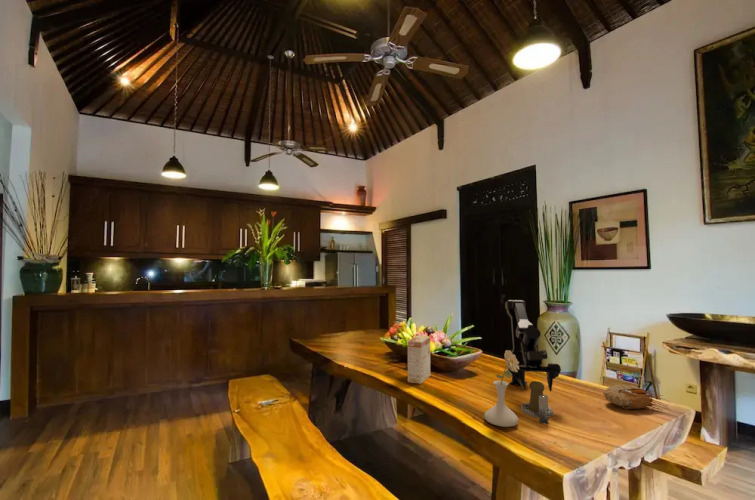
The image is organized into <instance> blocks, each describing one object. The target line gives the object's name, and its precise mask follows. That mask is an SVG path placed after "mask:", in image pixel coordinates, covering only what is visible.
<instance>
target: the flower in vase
mask: <svg viewBox="0 0 755 500" xmlns="http://www.w3.org/2000/svg"><path fill="white" fill-rule="evenodd" d="M503 355H504V356H503V357H504V361H505V368H504V370H503V374H502V375H501V374H498V373H497V374H496V378H498V379H501V380H495V381H493V385H494V386H495V389H496V392H497V394H496V395H497V403H496V404H495V405H493V406H492V407H490V408H489V409H488V410H486V411H485V412H484V414H483V415H484V416H483V417H484V419H485V421H486V422H488V423H489V424H492V425H493V426H498V427H503V428H506V427H507V428H508V427H510V428H511V427H514V426H517V424H518V423H519V422H520V421H519V417H518V416H517V414H516V413H515V412H513V411H512V410H511V409H510V408H509V407H508V406H507V405H506V403H505V393H506V389H507V387H508V386H509V382H507V381H504V378H505V376H506V378H508V379H509V378H510V379H511V378H512V373H511V372H510V371H508V370H507V368H508V367H509V368H510V370H511V371H513V372H514V371H515V372H518V371H517V369H518V370H519V365H518V364H519V362H518V361H517V359H516V358H515V357H516V356H515V355H513V354H512V350H510V349H509V350H508V349H506V350H505V351H504V354H503Z"/></svg>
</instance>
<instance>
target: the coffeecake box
mask: <svg viewBox="0 0 755 500" xmlns="http://www.w3.org/2000/svg"><path fill="white" fill-rule="evenodd" d="M430 376H431V336H428V335H422V334H421V335H416V336H414V337H412V338H410V339H408V340H407V382H408V383H410V384H411V383H413V384H418V385H419V384H420V385H421V384H423V383H424V381H426V380H427V379H428V378H429V377H430Z"/></svg>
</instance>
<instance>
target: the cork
mask: <svg viewBox="0 0 755 500" xmlns="http://www.w3.org/2000/svg"><path fill="white" fill-rule="evenodd" d="M528 386H529V389H530V396H529V402H530V403H529V408H528V409H529V410H532V411H534V412H539V395H544V391H545V385H544V383H543V382H540V381H535V380H533V381H530V383H529V384H528Z"/></svg>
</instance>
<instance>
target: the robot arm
mask: <svg viewBox="0 0 755 500" xmlns="http://www.w3.org/2000/svg"><path fill="white" fill-rule="evenodd" d="M504 307H505V310H506V314H507V316H508V317H509V318H510V322H511V323H510V325H511V336H512V337H511V338H512V340H511V341H512V349H511V352H512V354H513V355H515V356H516V357H515V358H516V359H517V361H518V362H519V364H518V365H519V370H518V369H517V371H518V372H515V371H514V372H513V371H511V370H510V368H509V367H508V366H507V367H506V370H508V371H510V372H511V373H512V376H511V380H510V381H509V384H510V385H515V386H518V387H519V386H520V387H521V388H522V390H526V385H527V384H528V381H526V372H527V373H529V372H532V373H533V372H534V373H535V372H537V373H546V375H547V376H546V381H547V387H548V390H549V392H552V388H553V382H554V379H556V378H558V377H559V376H560V373H561V371H562V369H561V365H560V364H558V363H550V362H549V363H548V364H547V366H542V365H543V360H547V359H549V358H548V351H547V350H546V349H541V350H539V351H538V348H537V346H538V343H539V341H540V337H541V331H540V329H538V328H537V327H535V326H534V324H533V323H532V322H530V321H529V318H528V315H527V311H526V301H525V300H522V299H508V300H507V301H505V303H504Z"/></svg>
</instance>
